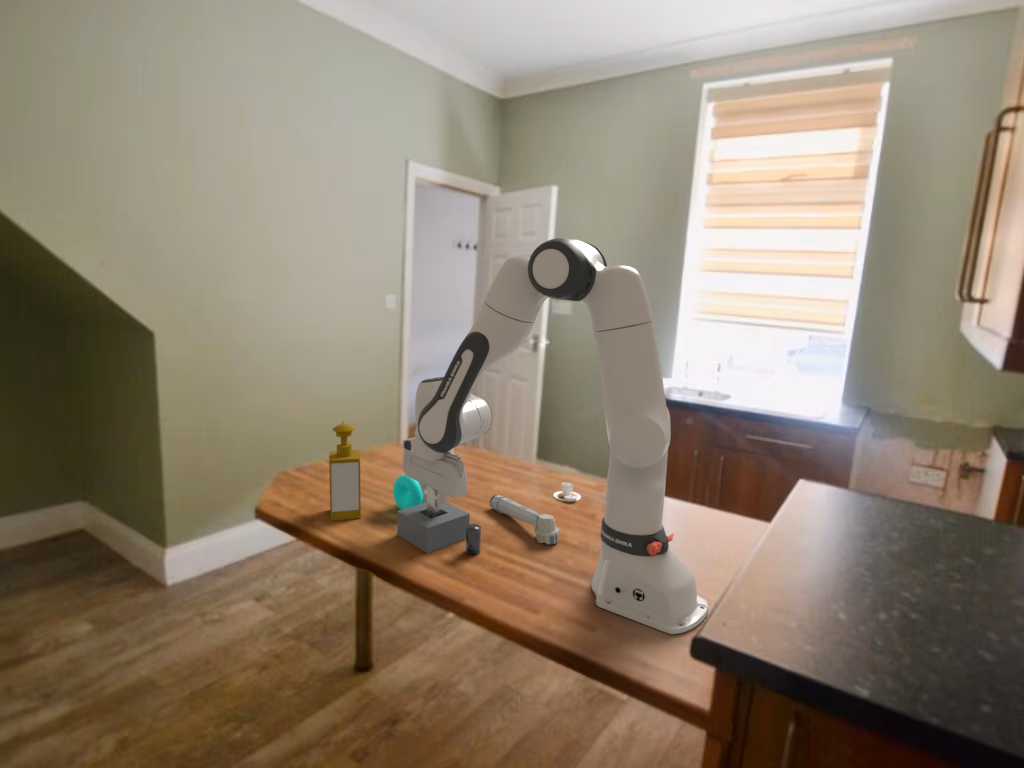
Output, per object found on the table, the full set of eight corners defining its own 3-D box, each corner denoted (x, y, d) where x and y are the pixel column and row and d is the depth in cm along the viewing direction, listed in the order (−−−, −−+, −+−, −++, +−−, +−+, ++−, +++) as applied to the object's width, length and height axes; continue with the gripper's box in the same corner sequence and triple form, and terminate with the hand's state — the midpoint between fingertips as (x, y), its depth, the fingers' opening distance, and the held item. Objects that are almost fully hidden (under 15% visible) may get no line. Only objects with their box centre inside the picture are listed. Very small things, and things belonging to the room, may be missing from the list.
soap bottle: (358, 499, 151) (357, 415, 147) (360, 518, 139) (359, 427, 135) (330, 501, 149) (328, 416, 145) (330, 521, 137) (328, 428, 133)
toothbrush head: (503, 492, 150) (563, 513, 129) (504, 516, 151) (564, 541, 130) (487, 495, 147) (545, 517, 126) (488, 520, 148) (546, 546, 127)
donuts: (390, 508, 146) (390, 471, 145) (419, 497, 154) (420, 463, 152) (415, 519, 140) (415, 481, 138) (444, 508, 148) (445, 472, 146)
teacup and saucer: (577, 505, 153) (577, 491, 153) (549, 501, 156) (549, 487, 155) (583, 495, 162) (584, 481, 161) (557, 490, 164) (557, 477, 163)
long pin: (443, 530, 131) (443, 478, 128) (432, 534, 128) (432, 481, 126) (434, 526, 133) (435, 474, 131) (423, 530, 131) (424, 477, 128)
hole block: (469, 537, 131) (469, 513, 130) (427, 553, 123) (427, 528, 122) (437, 521, 139) (438, 498, 138) (397, 534, 131) (397, 511, 130)
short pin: (483, 552, 124) (483, 527, 123) (472, 557, 122) (472, 531, 121) (473, 547, 126) (474, 522, 125) (462, 551, 124) (463, 526, 123)
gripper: (474, 455, 122) (473, 514, 125) (419, 435, 136) (419, 488, 139) (452, 460, 118) (451, 522, 120) (397, 439, 132) (397, 494, 134)
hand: (433, 504), depth 130 cm, fingers closed on long pin, 3 cm apart
